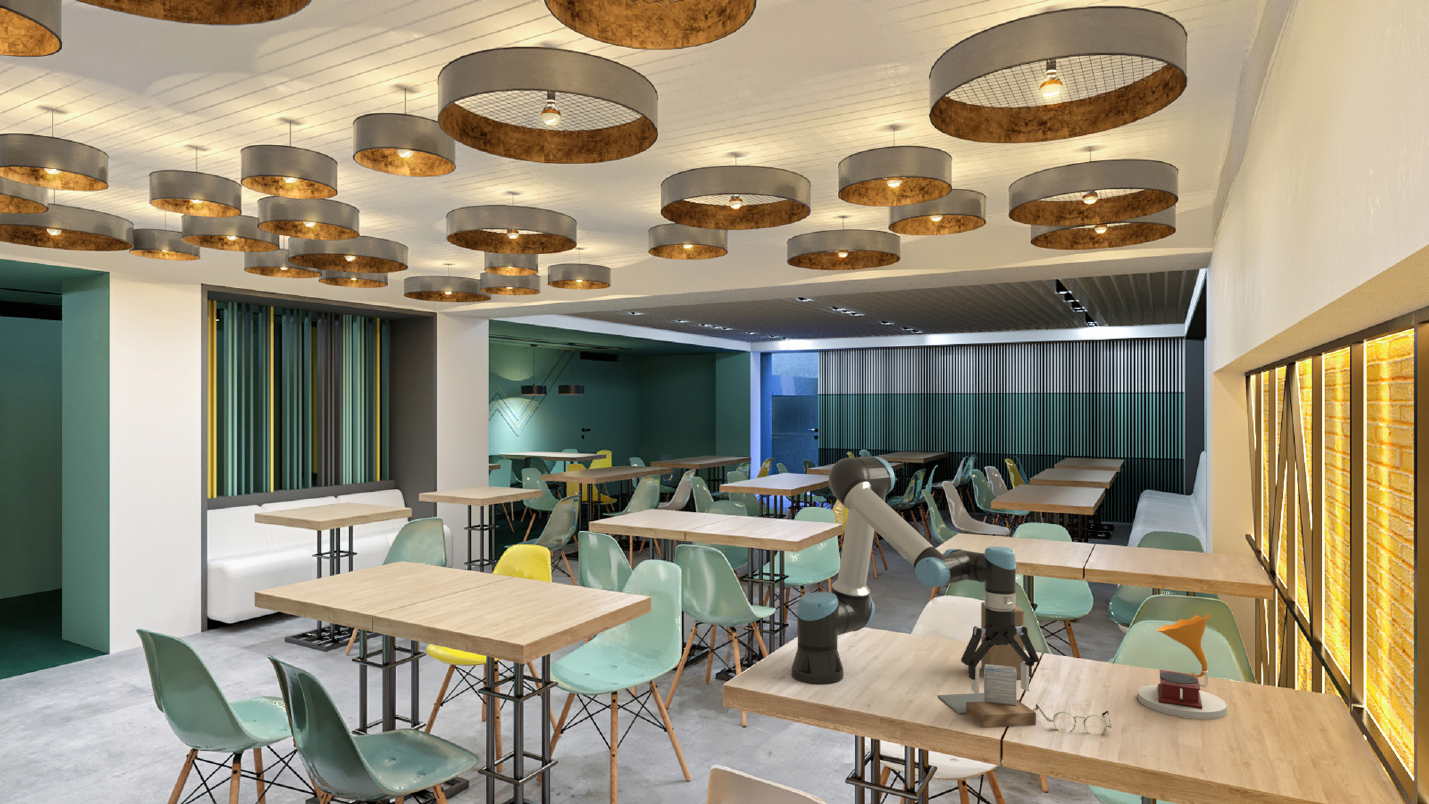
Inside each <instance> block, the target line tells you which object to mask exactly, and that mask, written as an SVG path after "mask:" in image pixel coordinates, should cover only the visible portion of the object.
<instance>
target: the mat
mask: <svg viewBox="0 0 1429 804" xmlns="http://www.w3.org/2000/svg"><path fill="white" fill-rule="evenodd" d="M937 697H938V698H939V699H940V700H941V699H942V700H941V701H942V702H943V703H944V704H946V705H947V706H948V707H949V708H950V709H952V710H953V711H954V712H955V713H956V714H957V715H967V714H966V702H982V701H984V692H979V694H976V693H975V692H974V693H972V692H971V693H955V694H952V693H951V694H937Z"/></svg>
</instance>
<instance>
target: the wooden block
mask: <svg viewBox="0 0 1429 804" xmlns="http://www.w3.org/2000/svg"><path fill="white" fill-rule="evenodd" d="M980 604H981V605H980V610H981V611H980V612H981V613H980V616H981V617H980V618H981V619H980V622H981V623H980V624H981V625H980V628H984V627H985V608H986V607H987V606H985V601H982V602H981V603H980ZM1014 610H1015V611H1016V623H1015V627H1018V626H1019V625H1022V626H1024V627H1025V624H1024V623H1025V622H1024V621H1025V619H1024V618H1025V617H1024V615H1025V614H1024V612H1025V611H1024V610H1023V609H1022V608H1021V607H1020V606H1018V605H1017V604H1016V607H1015V608H1014ZM985 637H986V635H985V633H984V634H983V636H982V637H981V640H980V643H981V644H982V642H983V639H984V638H985ZM1013 638H1014V639H1015V640H1016V641H1017V643H1018V644H1019V646H1020V647H1021V648H1022V649H1023V651H1024V652H1025V646H1024V644H1023V642H1022V640H1021V638H1020V636H1019V634H1018V633H1016V634H1015V636H1014V637H1013ZM989 642H990V640H989ZM981 644H980V645H981ZM980 662H981V663H980V666H981V669H982V671H984V665H985V664H989V665H1000V666H1010V667H1015V668H1016V673H1017V674H1016V680H1021V663H1025V662H1024V661H1023V660H1022V658H1021V657H1020V656H1019V655H1018V654H1017V652H1016V651H1015V650H1014V649H1013V647H1012V646H1011V645H1010V644H1008V645H995V644H994V646H993V647H991V648H990V649H989V650H988V651H987V653H986V654H985V655H984V657H983V658H982V659H981V661H980Z"/></svg>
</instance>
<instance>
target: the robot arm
mask: <svg viewBox="0 0 1429 804" xmlns="http://www.w3.org/2000/svg"><path fill="white" fill-rule="evenodd" d="M895 483H896V476H895V473H894V469H893V467H892V466H891V464H890V463H889V462H888V460H885V459H884V458H883V457H880V456H871V455H869V456H856V457H845V458H841V459H839V460H838V461H836V462H835V463H834V465H833V466H832V467H831V468H830V470H829V474H828V484H829V485H828V486H829V489H830V490H831V492H832V494H833V496H834V497H835V498H836V499H837V501H838V502H839V503H840V504H841V505H843V507H845V508H846V509H847V516H846V521H845V529H844V535H843V536H844V538H843V541H842V548H841V557H840V562H839V563H840V564H839V569H838V570H839V571H838V577H837V579H836V580H835V581H834V582H832V584H831V588H830V592H829V591H818V592H813V591H812V592H809V593H806V594H803V595H802V596H801V597H800V598H799V599H798V602H797V610H796V615H797V617H796V618H797V620H796V621H797V647H796V648H797V649H796V652H795V656H794V658H793V660H792V661H793V662H792V665H791V676H792V677H793V678H794V680H797V681H801V682H804V683H808V684H816V685H817V684H818V685H819V684H821V685H822V684H823V685H825V684H826V685H827V684H834V683H837V682H839V681H842V680H843V679H844V667H843V662H842V661H841V657H840V653H839V650H838V638H839V637H838V636H842V635H845V634H849V633H852V632H858V631H860V630H862V629H864V628H866V627H868V626H869V625H870V624H871V623H872V621H873V619H874V615H875V611H876V610H875V603H874V602H873V598H872V596H871V590H870V588H869V587H868V586H867V580H868V574H869V567H870V561H871V556H872V555H871V554H872V548H873V542H874V535H875V532H876V533H878V535H879V536H881V537H882V538H883V539H884V540H885V541H886V542H887V543H888V544H889V545H890V546H891V547H892V548H893V549H894V550H896V552H898V553H899V555H901V556H902V557H903V558H904V559H905V560H906V562H908V563H909V564H910V565H911V566H912V567H914V569H915V570H914V571H915V576H916V578H917V581H918V582H919V583H920V585H922V586H924V587H925V588H929V589H930V588H941V587H943V586H944V587H945V586H946V585H949V584H954V583H958V582H962V581H974V582H979V583H984V602H985V606H987V607H986V608H985V627H984V628H981V627H979V626H976V625H975V626H973V628H972V635H971V637H970V640H969V642H968V643H967V646H966V647H965V650H964V653H963V654H962V656H961V659H960V662H961V663H963V664H964V665H965V666H967V668H968V670H967V675H968V678H969V679H970V680H971V685H970V686H971V691H972V692H974V693H976V694H979V693H980V667H978V664H979V663H980V662H981V659H982V658H983V657H984V655H985V654H986V653H987V651H988V650H989V649H990V648H991V647H993V646H994V644H995V645H1008V644H1010V645H1011V646H1012V647H1013V649H1014V650H1015V651H1016V652H1017V654H1018V655H1019V656H1020V657H1021V658H1022V660H1023V661H1024V663H1021V679H1020V688H1021V689H1022V690H1024V691H1025V692H1029V691H1030V678H1031V677H1032V676H1033V675H1032V674H1033V672H1032V671H1033V667H1034V666H1035V663H1039V662H1040V658H1039V656H1038V654H1037V651H1036V650H1035V647H1034V645H1033V643H1032V642H1031V639H1030V637H1029V633H1028V628H1027V627H1026V626H1025V625H1024V626H1022V625H1019V626H1018V627H1015V623H1016V611H1015V610H1014V608H1015V607H1016V605H1017V604H1016V600H1017V599H1016V598H1017V597H1016V593H1017V592H1016V575H1017V574H1016V569H1017V564H1016V552H1015V550H1013V549H1012V548H1009V547H1005V546H988V547H986V548H985V549H984V552H975V551H971V550H965V549H964V550H963V549H961V548H948V549H946V550H945V552H943V553H941V552H940V551H939V550H938V549H937V548H936V547H935V546H933V545H932V544H931V543H930V542H929V541H928V540H927V539H926V538H925V537H924V536H922V535H921V534H920V533H919V532H918V531H917V530H916V529H915V528H914V527H912V525H910V523H908V522H907V520H905V519H904V518H903V517H902V516H901V515H900V514H898V512H896V511H895V510H894V509H893V508H892V507H891V506H890V505H889V504H887V502H885V498H886V495H888V494H889V493H890V492H891V491H892V490H893V489H894V488H895V487H894V486H895ZM984 633H985V635H986V637H985V638H984V639H983V642H982V644H980V643H981V637H982V636H983V634H984ZM1016 633H1018V634H1019V636H1020V638H1021V640H1022V642H1023V644H1024V649H1025V650H1026V652H1025V650H1024V651H1023V649H1022V648H1021V647H1020V646H1019V644H1018V643H1017V641H1016V640H1015V639H1014V638H1013V637H1014V636H1015V634H1016ZM989 640H990V642H989ZM979 644H980V645H979Z"/></svg>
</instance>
